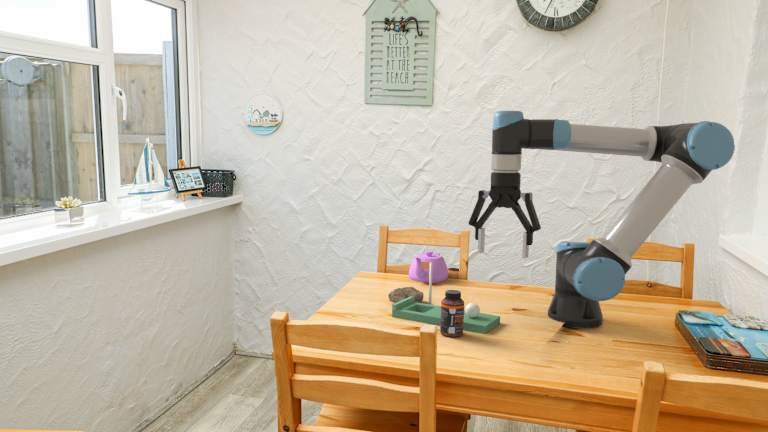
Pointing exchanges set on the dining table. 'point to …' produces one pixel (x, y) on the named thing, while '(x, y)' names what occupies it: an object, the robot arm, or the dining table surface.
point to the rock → (405, 294)
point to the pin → (429, 267)
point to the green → (433, 315)
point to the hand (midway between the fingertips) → (502, 255)
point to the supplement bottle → (452, 314)
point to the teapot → (423, 275)
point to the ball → (472, 310)
